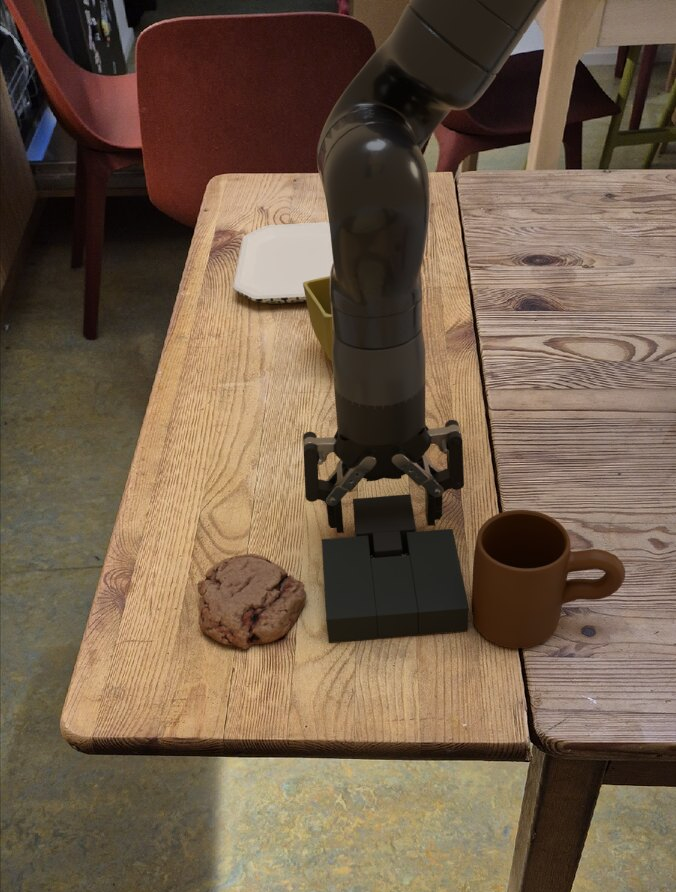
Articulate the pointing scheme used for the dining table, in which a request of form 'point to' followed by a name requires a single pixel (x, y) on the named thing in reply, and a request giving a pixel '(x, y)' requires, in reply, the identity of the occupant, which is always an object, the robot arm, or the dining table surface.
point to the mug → (531, 577)
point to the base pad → (393, 588)
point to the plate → (283, 261)
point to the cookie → (249, 601)
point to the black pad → (384, 523)
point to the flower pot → (320, 311)
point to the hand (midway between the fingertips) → (385, 523)
